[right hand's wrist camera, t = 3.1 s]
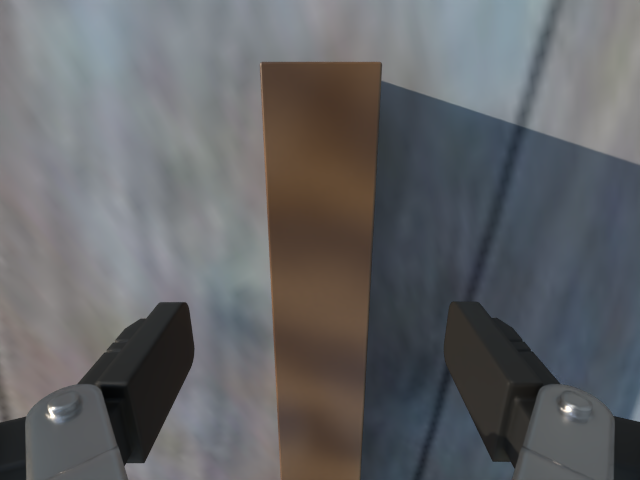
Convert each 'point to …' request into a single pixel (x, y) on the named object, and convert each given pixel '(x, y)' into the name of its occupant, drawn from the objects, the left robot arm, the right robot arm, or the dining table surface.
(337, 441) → the post
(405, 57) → the dining table surface
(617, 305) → the dining table surface
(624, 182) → the dining table surface
